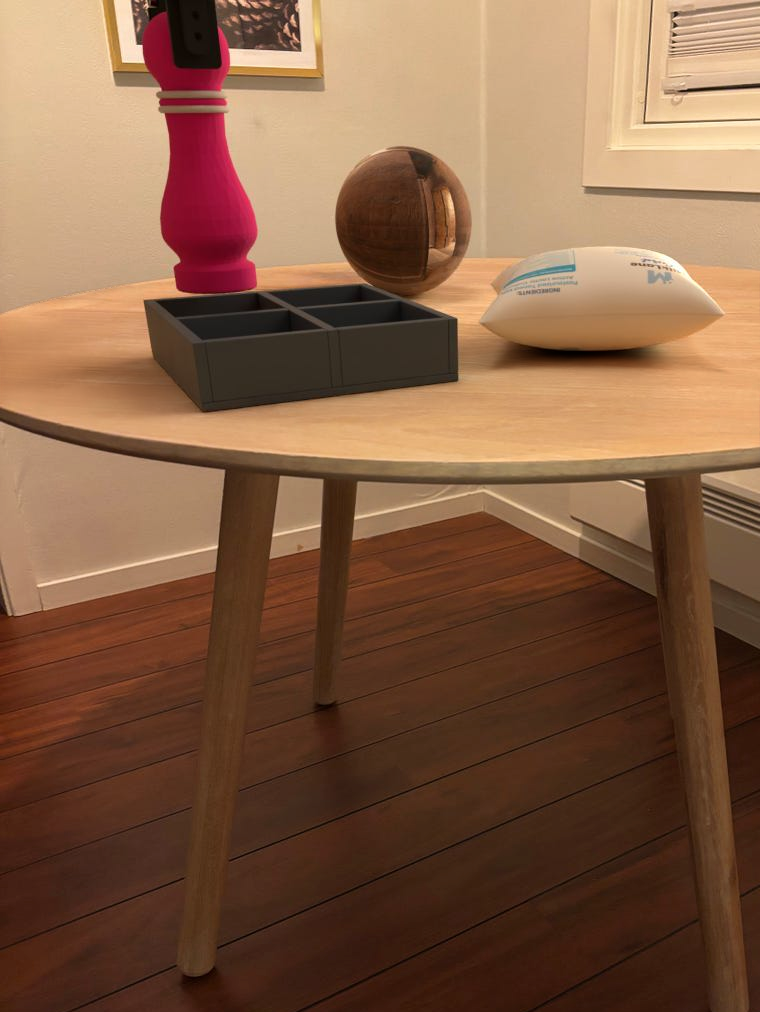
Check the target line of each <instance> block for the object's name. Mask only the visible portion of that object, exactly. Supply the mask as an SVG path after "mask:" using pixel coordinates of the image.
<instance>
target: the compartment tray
mask: <svg viewBox="0 0 760 1012" xmlns="http://www.w3.org/2000/svg"><path fill="white" fill-rule="evenodd" d="M143 306H144V312H145V319H146V324H147V331H148V336H149V343H150V349H151V354H152V355H151V356H152V357H153V359H154V360H155V361H156V362H157V363H158V364H159V365H160V367H162V369H163V370H164V371H165V372H166V373H167V374H168V375H169V376H170V377H171V379H173V380H174V382H175V384H177V386H179V387H180V388H181V389H182V391H183V392H184V393H185V394H186V395H187V396H188V397H189V398H190V399H191V401H193V403H194V404H195V405H196V406H197V408H198V409H199V410H201V412H203V413H206V412H215V411H221V410H222V411H223V410H231V409H239V408H245V407H247V408H249V407H255V406H262V405H272V404H280V403H288V402H295V401H303V400H311V399H312V400H313V399H319V398H327V397H328V398H329V397H337V396H343V395H353V394H359V393H360V394H361V393H370V392H377V391H385V390H392V389H393V390H394V389H400V388H409V387H417V386H425V385H426V386H427V385H434V384H442V383H449V382H457V381H459V380H460V379H459V378H460V377H459V322H458V321H459V319H458V318H457V317H456V316H453V315H450V314H447V313H445V312H442V311H439V310H436V309H434V308H431V307H429V306H427V305H423V304H421V303H418V302H416V301H413V300H411V299H408V298H405V297H402V296H401V295H398V294H392V293H389V292H387V291H384V290H382V289H379V288H376V287H374V286H372V285H371V284H369V283H367V282H366V283H365V282H363V283H349V284H335V285H322V286H307V287H296V288H295V287H293V288H281V289H280V288H279V289H267V290H256V291H242V292H236V293H225V294H200V295H190V296H189V295H188V296H176V297H164V298H149V299H143Z"/></svg>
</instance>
